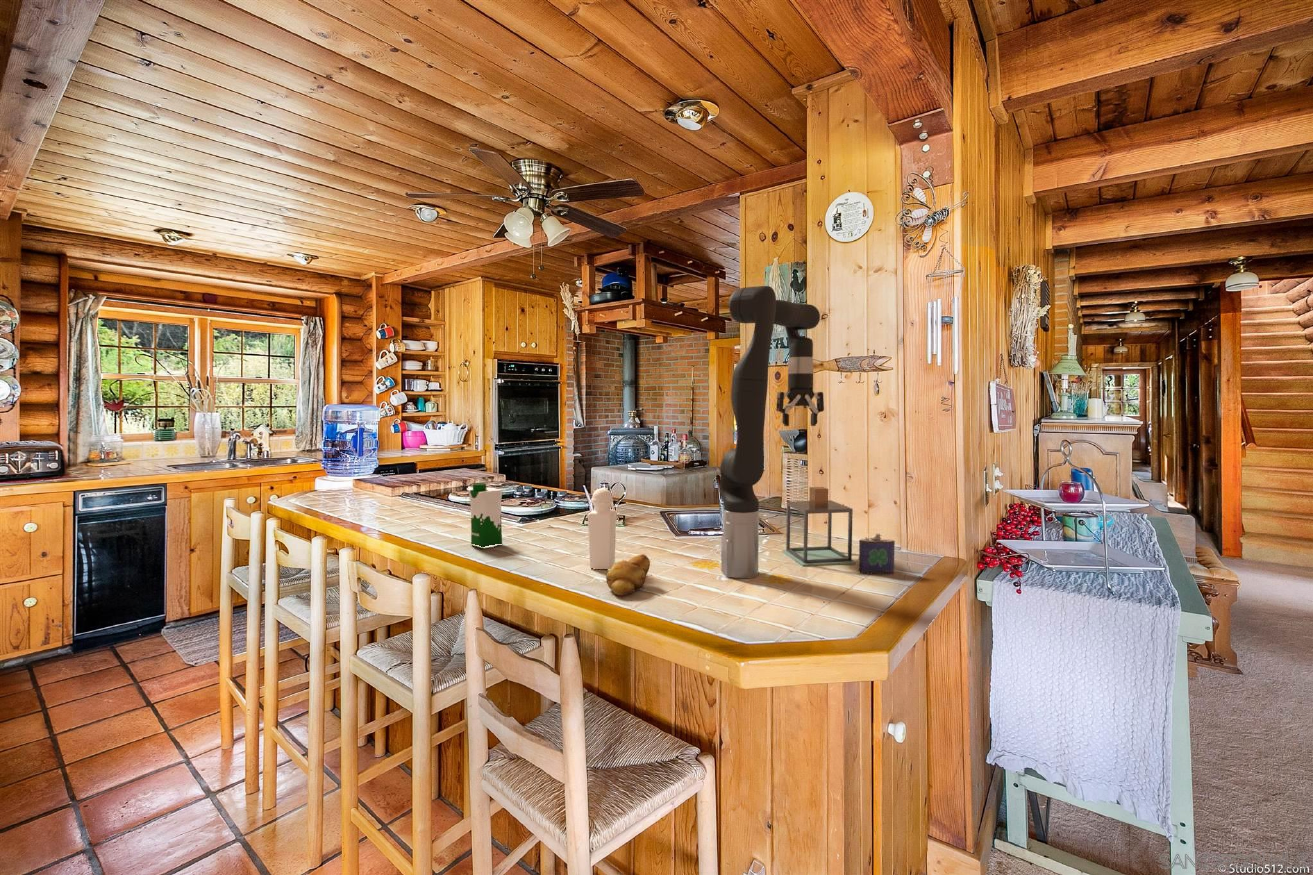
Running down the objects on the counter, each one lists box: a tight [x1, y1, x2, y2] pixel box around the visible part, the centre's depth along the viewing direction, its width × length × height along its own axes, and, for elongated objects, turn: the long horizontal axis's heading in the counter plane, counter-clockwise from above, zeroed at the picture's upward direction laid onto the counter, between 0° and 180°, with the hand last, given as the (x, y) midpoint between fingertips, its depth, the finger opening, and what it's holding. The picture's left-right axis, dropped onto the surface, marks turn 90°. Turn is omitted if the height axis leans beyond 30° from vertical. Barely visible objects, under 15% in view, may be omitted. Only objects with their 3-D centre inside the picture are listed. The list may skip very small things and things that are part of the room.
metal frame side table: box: [785, 486, 854, 563], centre depth 172 cm, size 14×14×20 cm
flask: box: [858, 533, 896, 575], centre depth 157 cm, size 9×3×11 cm, turn 88°
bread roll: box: [605, 553, 651, 596], centre depth 144 cm, size 13×10×8 cm
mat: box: [781, 549, 858, 567], centre depth 173 cm, size 16×16×1 cm
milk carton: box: [468, 482, 503, 547], centre depth 187 cm, size 9×9×20 cm
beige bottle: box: [587, 487, 617, 569], centre depth 163 cm, size 6×6×22 cm
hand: (799, 426), depth 180 cm, fingers open, 8 cm apart
